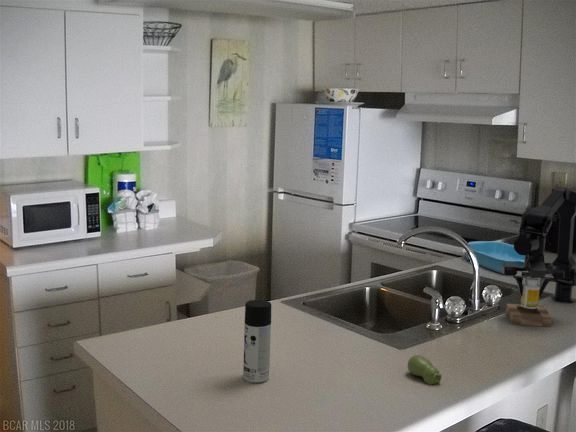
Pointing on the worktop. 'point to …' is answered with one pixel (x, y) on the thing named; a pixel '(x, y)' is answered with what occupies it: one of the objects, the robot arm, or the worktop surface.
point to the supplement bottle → (530, 293)
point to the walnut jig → (528, 315)
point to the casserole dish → (496, 254)
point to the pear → (424, 369)
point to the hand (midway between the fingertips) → (530, 296)
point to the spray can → (257, 341)
